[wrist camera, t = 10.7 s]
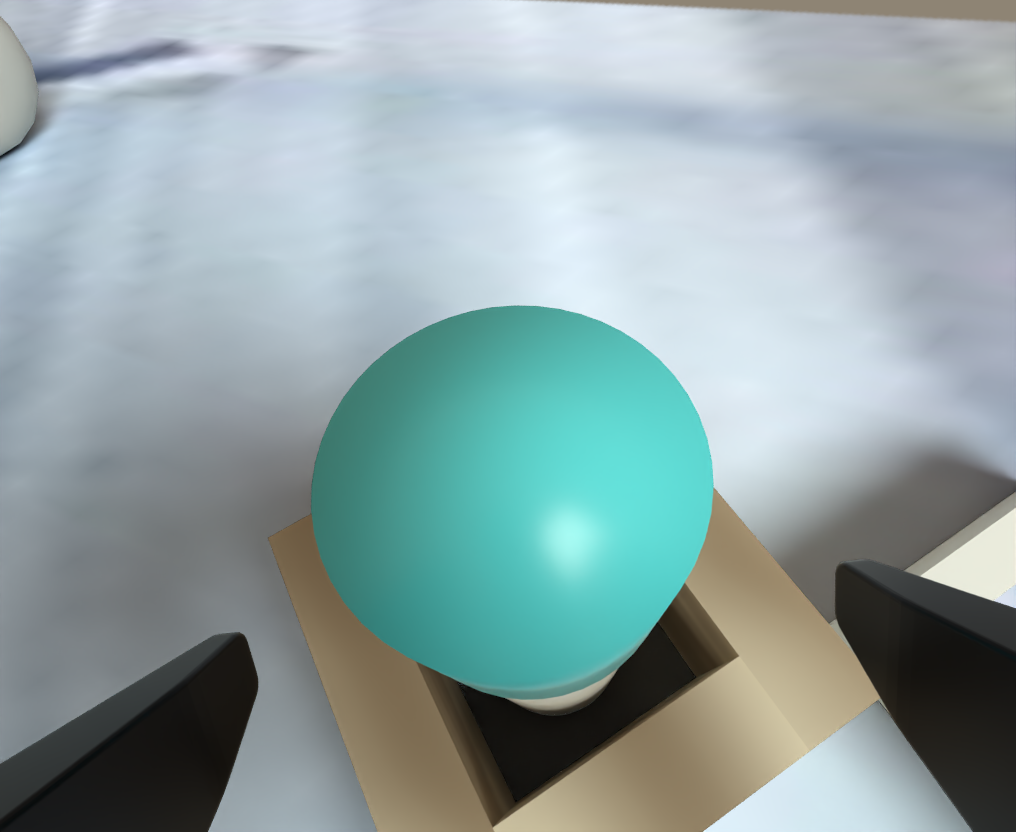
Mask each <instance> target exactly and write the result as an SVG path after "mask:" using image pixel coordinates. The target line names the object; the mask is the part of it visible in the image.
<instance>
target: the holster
mask: <svg viewBox="0 0 1016 832" xmlns="http://www.w3.org/2000/svg"><path fill="white" fill-rule="evenodd" d="M904 571H906V572H909V573H912V574H915V575H918V576H921V577H924V578H927V579H930V580H933V581H935V582H938V583H941V584H944V585H947V586H950V587H953V588H956V589H959V590H962V591H965V592H968V593H971V594H974V595H977V596H980V597H983V598H986V599H989V600H992V601H994V600H995V599H997V598H998V597H999V596H1001V595H1002V594H1003V593H1005V592H1006V591H1007V590H1009V589H1010V588H1011V587H1013V586H1014V585H1015V584H1016V492H1014V493H1013V494H1012V495H1010V496H1009V497H1007V498H1006V499H1004V500H1003V501H1002V502H1000V503H999V504H997V505H996V506H995V507H993V508H992V509H990V510H989V511H988V512H986V513H985V514H983V515H982V516H980V517H979V518H978V519H976V520H975V521H973V522H972V523H971V524H969V525H968V526H966V527H965V528H964V529H962V530H961V531H959V532H958V533H956V534H955V535H954V536H952V537H951V538H949V539H948V540H947V541H945V542H944V543H942V544H941V545H940V546H938V547H937V548H935V549H934V550H932V551H931V552H930V553H928V554H927V555H925V556H924V557H923V558H921V559H920V560H918V561H917V562H916V563H914V564H913V565H911V566H910V567H908V568H907V569H906V570H904ZM829 625H830V626H831V627H832V628H833V629H834V631H835V632H836V633H837V634H838V635H839V636H840V638H841V639H842V640H843V641H844V642H845V644H846V645H847V646H848V647H849V648H850V649H851V651H852V652H853V650H852V648H851V647H850V645H849V643H848V642H847V640H846V638H845V636H844V635H843V633H842V631H841V629H840V627H839V625H838V623H837V619H835V620H834V621H832V622H831V623H829ZM853 653H854V652H853ZM878 701H879V702H880V703H881V704H882V705H883V707H884V708H885V709H886V707H885V705H884V704H883V702H882V700H881V698H880V699H879V700H878ZM886 710H887V709H886ZM887 711H888V710H887ZM888 713H889V712H888Z"/></svg>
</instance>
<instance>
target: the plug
mask: <svg viewBox="0 0 1016 832" xmlns="http://www.w3.org/2000/svg"><path fill="white" fill-rule="evenodd" d="M713 488H714V487H713V470H712V460H711V455H710V450H709V445H708V440H707V437H706V434H705V431H704V428H703V426H702V423H701V420H700V417H699V415H698V413H697V411H696V409H695V407H694V405H693V403H692V402H691V400H690V398H689V396H688V394H687V393H686V391H685V390H684V389H683V387H682V386H681V384H680V383H679V382H678V380H677V379H676V377H675V376H674V375H673V374H672V373H671V372H670V370H669V369H668V368H667V367H666V366H665V365H664V364H663V363H662V362H661V361H660V360H659V359H658V358H657V357H656V356H655V355H654V354H652V353H651V352H650V351H649V350H648V349H646V348H645V347H644V346H643V345H642V344H640V343H639V342H637V341H636V340H634V339H632V338H631V337H629V336H628V335H626V334H625V333H623V332H622V331H620V330H618V329H615V328H613V327H611V326H609V325H607V324H605V323H603V322H601V321H598V320H596V319H593V318H590V317H587V316H584V315H582V314H578V313H574V312H569V311H565V310H561V309H555V308H547V307H540V306H503V307H492V308H486V309H481V310H475V311H470V312H467V313H463V314H460V315H456V316H453V317H450V318H447V319H444V320H442V321H439V322H437V323H435V324H432V325H430V326H427V327H426V328H424V329H422V330H420V331H418V332H416V333H414V334H412V335H410V336H409V337H407V338H406V339H404V340H403V341H401V342H400V343H398V344H397V345H395V346H394V347H392V348H391V349H389V350H388V351H387V352H386V353H385V354H383V355H382V356H381V357H380V358H379V359H377V360H376V361H375V362H374V363H373V364H372V365H371V366H370V367H369V368H368V369H367V370H366V371H365V372H364V373H363V374H362V375H361V376H360V377H359V378H358V379H357V380H356V382H355V383H354V384H353V386H352V387H351V388H350V390H349V391H348V392H347V394H346V395H345V396H344V398H343V399H342V401H341V402H340V404H339V406H338V408H337V409H336V411H335V413H334V414H333V416H332V418H331V420H330V422H329V424H328V427H327V429H326V431H325V434H324V436H323V438H322V441H321V444H320V448H319V451H318V454H317V458H316V461H315V467H314V473H313V480H312V492H311V512H312V521H313V529H314V535H315V539H316V543H317V546H318V550H319V554H320V558H321V560H322V562H323V565H324V567H325V569H326V571H327V574H328V576H329V578H330V581H331V582H332V584H333V586H334V587H335V589H336V590H337V592H338V594H339V595H340V597H341V598H342V600H343V602H344V603H345V604H346V606H347V607H348V608H349V609H350V610H351V611H352V613H353V614H354V615H355V616H356V617H357V618H358V620H359V621H360V622H361V623H362V624H363V625H364V626H365V627H366V628H368V629H369V630H370V631H371V632H372V633H373V634H375V635H376V636H377V637H378V638H379V639H380V640H382V641H383V642H384V643H386V644H387V645H389V646H390V647H392V648H394V649H395V650H397V651H398V652H400V653H402V654H403V655H405V656H406V657H408V658H410V659H412V660H414V661H416V662H419V663H421V664H423V665H425V666H427V667H429V668H431V669H433V670H435V671H437V672H440V673H442V674H444V675H446V676H448V677H450V678H452V679H454V680H456V681H458V682H461V683H463V684H465V685H467V686H470V687H472V688H474V689H476V690H479V691H481V692H484V693H488V694H492V695H495V696H499V697H504V698H506V699H508V700H510V701H512V702H513V703H515V704H517V705H519V706H521V707H522V708H524V709H527V710H529V711H531V712H534V713H538V714H541V715H550V716H555V715H565V714H570V713H573V712H576V711H578V710H580V709H582V708H584V707H586V706H588V705H589V704H591V703H592V702H593V701H594V700H596V699H597V698H598V697H599V696H600V695H601V694H602V692H603V691H604V690H605V689H606V687H607V686H608V684H609V682H610V681H611V679H612V677H613V676H614V674H615V673H616V671H617V669H618V668H619V667H620V666H621V665H622V664H623V663H624V662H625V661H626V660H627V659H629V658H630V657H631V656H632V655H633V654H634V652H635V651H636V650H637V649H638V647H639V646H640V645H641V644H642V643H643V641H644V640H645V639H646V637H647V636H648V635H649V633H650V632H651V630H652V629H653V628H654V626H655V625H656V623H657V622H658V620H659V619H660V618H661V616H662V615H663V613H664V612H665V611H666V609H667V608H668V606H669V605H670V604H671V602H672V601H673V599H674V598H675V596H676V595H677V594H678V592H679V591H680V589H681V588H682V586H683V584H684V583H685V581H686V579H687V577H688V576H689V574H690V572H691V571H692V569H693V567H694V566H695V563H696V561H697V558H698V556H699V553H700V551H701V548H702V546H703V543H704V541H705V537H706V533H707V529H708V525H709V521H710V517H711V511H712V499H713Z"/></svg>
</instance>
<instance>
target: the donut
mask: <svg viewBox="0 0 1016 832" xmlns="http://www.w3.org/2000/svg"><path fill="white" fill-rule="evenodd" d="M38 94H39V90H38V86H37V82H36V78H35V74H34V70H33V66H32V63H31V60H30V58H29V56H28V55H27V53H26V51H25V50H24V48H23V47H22V45H21V43H20V42H19V40H18V38H17V37H16V35H15V34H14V32H13V30H12V29H11V27H10V26H9V25H8V24H7V23H6V22H5V21H4V20H3V19H2V18H1V17H0V156H1V155H2V154H4V153H6V152H7V151H9V150H10V149H12V148H13V147H15V146H16V145H18V144H20V143H21V141H22V140H23V138H24V137H25V135H26V134H27V132H28V131H29V129H30V128H31V126H32V125H33V123H34V122H35V116H36V109H37V101H38Z"/></svg>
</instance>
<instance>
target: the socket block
mask: <svg viewBox="0 0 1016 832" xmlns="http://www.w3.org/2000/svg"><path fill="white" fill-rule="evenodd" d="M268 540H269V542H270V545H271V548H272V550H273V553H274V556H275V559H276V561H277V564H278V567H279V569H280V572H281V575H282V577H283V580H284V583H285V585H286V588H287V591H288V593H289V596H290V599H291V601H292V604H293V607H294V609H295V612H296V615H297V617H298V620H299V623H300V625H301V628H302V631H303V633H304V636H305V639H306V641H307V644H308V647H309V650H310V652H311V655H312V658H313V660H314V663H315V666H316V668H317V671H318V674H319V676H320V679H321V682H322V684H323V687H324V690H325V692H326V695H327V698H328V700H329V703H330V706H331V708H332V711H333V714H334V716H335V719H336V722H337V724H338V727H339V730H340V732H341V735H342V738H343V741H344V743H345V746H346V749H347V751H348V754H349V757H350V759H351V762H352V765H353V767H354V770H355V773H356V775H357V778H358V781H359V783H360V786H361V789H362V791H363V794H364V797H365V799H366V802H367V805H368V807H369V810H370V813H371V815H372V818H373V821H374V823H375V826H376V829H377V832H703V831H704V830H705V829H707V828H708V827H709V826H711V825H712V824H713V823H715V822H716V821H717V820H719V819H720V818H721V817H723V816H724V815H725V814H727V813H728V812H729V811H731V810H732V809H733V808H735V807H736V806H737V805H739V804H740V803H741V802H743V801H744V800H745V799H747V798H748V797H749V796H751V795H752V794H753V793H755V792H756V791H757V790H759V789H760V788H761V787H763V786H764V785H765V784H767V783H768V782H769V781H771V780H772V779H773V778H775V777H776V776H777V775H779V774H780V773H781V772H783V771H784V770H785V769H787V768H788V767H789V766H791V765H792V764H793V763H795V762H796V761H797V760H799V759H800V758H801V757H803V756H804V755H805V754H807V753H808V752H809V751H811V750H812V749H813V748H815V747H816V746H817V745H819V744H820V743H821V742H823V741H824V740H825V739H827V738H828V737H829V736H831V735H832V734H833V733H835V732H836V731H837V730H839V729H840V728H841V727H843V726H844V725H845V724H847V723H848V722H849V721H851V720H852V719H853V718H855V717H856V716H857V715H859V714H860V713H861V712H863V711H864V710H865V709H867V708H868V707H869V706H871V705H872V704H873V703H875V702H876V701H877V700H879V699H880V697H879V695H878V693H877V692H876V690H875V688H874V686H873V685H872V683H871V681H870V679H869V678H868V676H867V674H866V673H865V671H864V669H863V667H862V666H861V664H860V662H859V661H858V659H857V657H856V655H855V654H854V653H853V652H852V651H851V649H850V648H849V647H848V646H847V645H846V644H845V642H844V641H843V640H842V639H841V638H840V636H839V635H838V634H837V633H836V632H835V631H834V629H833V628H832V627H831V626H830V625H829V623H828V622H827V621H826V620H825V619H824V617H823V616H822V615H821V614H820V613H819V612H818V610H817V609H816V608H815V607H814V606H813V604H812V603H811V602H810V601H809V600H808V599H807V597H806V596H805V595H804V594H803V593H802V591H801V590H800V589H799V588H798V587H797V586H796V584H795V583H794V582H793V581H792V580H791V578H790V577H789V576H788V575H787V574H786V572H785V571H784V570H783V569H782V568H781V567H780V565H779V564H778V563H777V562H776V561H775V559H774V558H773V557H772V556H771V555H770V554H769V552H768V551H767V550H766V549H765V548H764V546H763V545H762V544H761V543H760V542H759V540H758V539H757V538H756V537H755V536H754V535H753V533H752V532H751V531H750V530H749V529H748V527H747V526H746V525H745V524H744V523H743V522H742V520H741V519H740V518H739V517H738V516H737V514H736V513H735V512H734V511H733V510H732V509H731V507H730V506H729V505H728V504H727V503H726V501H725V500H724V499H723V498H722V497H721V495H720V494H719V493H718V492H717V491H716V490H715V488H713V499H712V511H711V517H710V521H709V525H708V529H707V533H706V537H705V541H704V543H703V546H702V548H701V551H700V553H699V556H698V558H697V561H696V563H695V566H694V567H693V569H692V571H691V572H690V574H689V576H688V577H687V579H686V581H685V583H684V584H683V586H682V588H681V589H680V591H679V592H678V594H677V595H676V596H675V598H674V599H673V601H672V602H671V604H670V605H669V606H668V608H667V609H666V611H665V612H664V613H663V615H662V616H661V618H660V619H659V620H658V623H659V624H660V626H661V627H662V629H663V630H664V632H665V633H666V634H667V636H668V637H669V639H670V640H671V642H672V643H673V645H674V646H675V647H676V649H677V650H678V652H679V653H680V655H681V656H682V658H683V659H684V660H685V662H686V663H687V665H688V666H689V668H690V669H691V671H692V672H693V673H694V675H695V676H696V678H695V679H693V680H692V681H690V682H689V683H688V684H686V685H685V686H683V687H682V688H680V689H679V690H678V691H676V692H675V693H673V694H672V695H670V696H669V697H667V698H666V699H665V700H663V701H662V702H660V703H659V704H657V705H656V706H654V707H653V708H652V709H650V710H649V711H647V712H646V713H644V714H643V715H641V716H640V717H639V718H637V719H636V720H634V721H633V722H631V723H630V724H628V725H627V726H626V727H624V728H623V729H621V730H620V731H618V732H617V733H616V734H614V735H613V736H611V737H610V738H608V739H607V740H605V741H604V742H603V743H601V744H600V745H598V746H597V747H595V748H594V749H592V750H591V751H590V752H588V753H587V754H585V755H584V756H582V757H581V758H579V759H578V760H577V761H575V762H574V763H572V764H571V765H569V766H568V767H566V768H565V769H564V770H562V771H561V772H559V773H558V774H556V775H555V776H554V777H552V778H551V779H549V780H548V781H546V782H545V783H543V784H542V785H541V786H539V787H538V788H536V789H535V790H533V791H532V792H530V793H529V794H528V795H526V796H525V797H523V798H522V799H520V800H519V801H517V802H515V800H514V798H513V796H512V794H511V792H510V790H509V788H508V786H507V783H506V781H505V779H504V777H503V775H502V773H501V771H500V769H499V767H498V765H497V763H496V761H495V759H494V757H493V755H492V753H491V751H490V749H489V747H488V745H487V743H486V740H485V738H484V736H483V734H482V732H481V730H480V728H479V726H478V724H477V722H476V720H475V718H474V716H473V714H472V712H471V710H470V708H469V706H468V704H467V702H466V699H465V697H464V695H463V693H462V691H461V689H460V687H459V685H458V683H457V681H456V680H454V679H452V678H450V677H448V676H446V675H444V674H442V673H440V672H437V671H435V670H433V669H431V668H429V667H427V666H425V665H423V664H421V663H419V662H416V661H414V660H412V659H410V658H408V657H406V656H405V655H403V654H402V653H400V652H398V651H397V650H395V649H394V648H392V647H390V646H389V645H387V644H386V643H384V642H383V641H382V640H380V639H379V638H378V637H377V636H376V635H375V634H373V633H372V632H371V631H370V630H369V629H368V628H366V627H365V626H364V625H363V624H362V623H361V622H360V621H359V620H358V618H357V617H356V616H355V615H354V614H353V613H352V611H351V610H350V609H349V608H348V607H347V606H346V604H345V603H344V602H343V600H342V598H341V597H340V595H339V594H338V592H337V590H336V589H335V587H334V586H333V584H332V582H331V581H330V578H329V576H328V574H327V571H326V569H325V567H324V565H323V562H322V560H321V558H320V554H319V550H318V546H317V543H316V539H315V535H314V529H313V521H312V514H310V515H308V516H306V517H304V518H303V519H301V520H299V521H297V522H295V523H294V524H292V525H290V526H288V527H286V528H285V529H283V530H281V531H279V532H278V533H276V534H274V535H272V536H270V537H269V538H268Z"/></svg>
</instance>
